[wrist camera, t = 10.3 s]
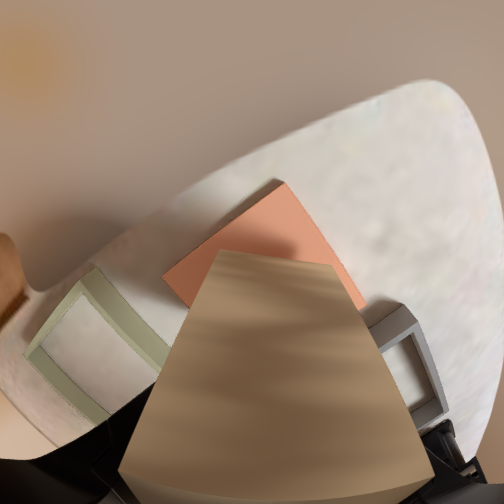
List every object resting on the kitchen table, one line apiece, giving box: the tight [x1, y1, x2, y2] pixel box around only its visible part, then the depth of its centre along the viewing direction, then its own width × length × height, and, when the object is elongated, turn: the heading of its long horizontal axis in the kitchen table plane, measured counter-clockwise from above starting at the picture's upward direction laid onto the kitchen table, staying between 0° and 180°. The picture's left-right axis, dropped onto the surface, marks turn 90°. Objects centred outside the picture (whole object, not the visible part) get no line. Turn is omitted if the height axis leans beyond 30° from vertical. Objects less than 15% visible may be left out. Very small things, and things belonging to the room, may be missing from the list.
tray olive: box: [23, 267, 171, 426], centre depth 17 cm, size 13×13×2 cm
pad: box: [162, 182, 367, 311], centre depth 14 cm, size 8×8×1 cm
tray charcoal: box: [368, 305, 449, 431], centre depth 17 cm, size 13×13×2 cm
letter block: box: [118, 249, 435, 504], centre depth 8 cm, size 5×5×10 cm
